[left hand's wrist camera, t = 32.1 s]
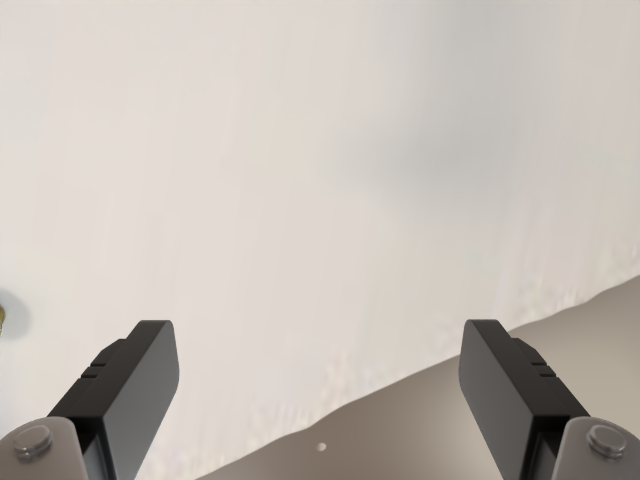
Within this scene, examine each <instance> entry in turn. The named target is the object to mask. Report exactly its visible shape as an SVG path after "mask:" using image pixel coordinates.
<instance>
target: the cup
mask: <svg viewBox="0 0 640 480" xmlns="http://www.w3.org/2000/svg"><path fill="white" fill-rule="evenodd" d="M4 320H5V311H4V309H3V308H2V307H1V306H0V335H1V331H2V323H3V322H4Z"/></svg>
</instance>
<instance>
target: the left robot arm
mask: <svg viewBox="0 0 640 480" xmlns="http://www.w3.org/2000/svg"><path fill="white" fill-rule="evenodd" d="M178 382H179V363H178V356H177V349H176V342H175V335H174V328H173V324H172V322H171V321H170V320H141V321H140V322H139V323H138V324H137V325H136V326H135V328H134V329H133V330H132V332H131V333H130V334H129V335H128V337H127V338H126V339H118V340H117V341H115V342H114V343H112V344H111V345H109V346H108V347H106V348H105V349H103V350H102V351H101V352H100V353H99V354H98V356H97V357H96V358H95V359H94V360H93V362H92V363H91V364H90V367H88V368H87V369H86V370H85V371H84V372H83V374H82V375H81V378H78V380H77V381H76V382H75V383H74V384H73V386H72V387H71V388H70V389H69V390H68V392H67V393H66V394H65V395H64V396H63V398H62V399H61V400H60V401H59V402H58V404H57V405H56V406H55V407H54V408H53V410H52V411H51V412H50V413H49V414H48V415H47V417H45V418H41V419H37V420H34V421H31V422H29V423H26V424H24V425H22V426H20V427H18V428H16V429H15V430H13V431H12V432H10V433H9V434H7V435H6V436H5V437H4V438H2V439H1V440H0V480H134V479H135V477H136V475H137V473H138V471H139V468H140V466H141V464H142V462H143V460H144V458H145V456H146V454H147V452H148V450H149V447H150V445H151V443H152V441H153V439H154V437H155V435H156V433H157V431H158V428H159V426H160V424H161V422H162V420H163V418H164V416H165V414H166V412H167V410H168V407H169V405H170V403H171V401H172V399H173V397H174V395H175V393H176V390H177V387H178ZM459 382H460V386H461V390H462V392H463V394H464V396H465V398H466V401H467V403H468V405H469V407H470V409H471V411H472V413H473V416H474V418H475V420H476V422H477V424H478V426H479V428H480V431H481V433H482V435H483V437H484V439H485V441H486V443H487V445H488V448H489V450H490V452H491V454H492V456H493V458H494V460H495V462H496V465H497V467H498V469H499V471H500V473H501V475H502V477H503V479H504V480H640V440H639V439H637V438H636V437H635V436H634V435H632V434H631V433H630V432H628V431H627V430H625V429H624V428H622V427H620V426H618V425H616V424H614V423H611V422H609V421H606V420H603V419H599V418H595V417H591V416H590V415H589V414H588V412H587V411H586V410H585V409H584V408H583V406H582V405H581V404H580V403H579V402H578V400H577V399H576V398H575V397H574V396H573V394H572V393H571V392H570V391H569V389H568V388H567V387H566V386H565V385H564V383H563V382H562V381H561V380H560V379H559V377H556V374H555V372H554V371H553V370H552V369H551V368H550V366H547V363H546V362H545V360H544V359H543V358H542V357H541V356H540V354H539V353H538V352H537V351H536V350H535V349H534V348H532V347H531V346H529V345H528V344H526V343H525V342H523V341H522V340H520V339H519V338H511V337H510V335H509V334H508V333H507V332H506V330H505V329H504V328H503V326H502V325H501V324H500V322H499V321H498V320H467V321H466V323H465V326H464V333H463V340H462V347H461V354H460V362H459Z"/></svg>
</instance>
